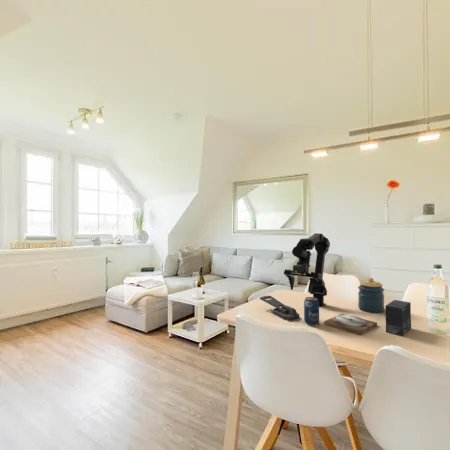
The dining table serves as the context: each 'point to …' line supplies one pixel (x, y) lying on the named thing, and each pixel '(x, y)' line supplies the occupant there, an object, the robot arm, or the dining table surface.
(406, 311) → the small box
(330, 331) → the dining table surface
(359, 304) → the canister
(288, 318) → the zipper pull
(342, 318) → the rosette board
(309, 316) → the soda can
